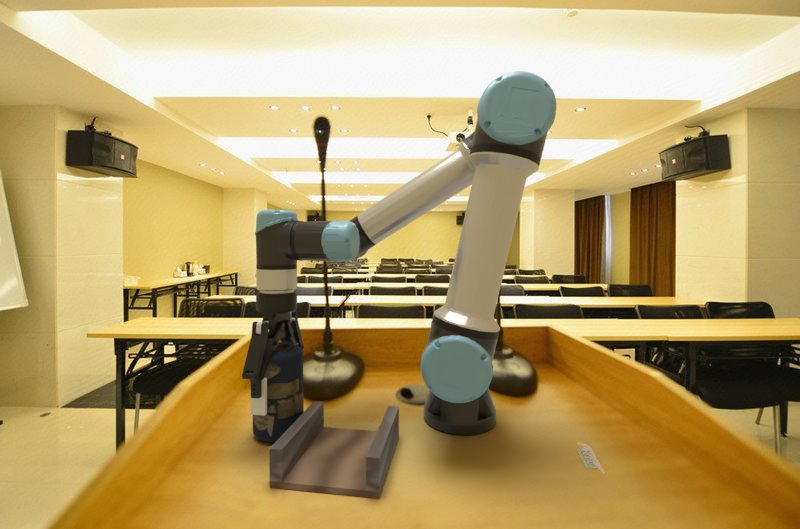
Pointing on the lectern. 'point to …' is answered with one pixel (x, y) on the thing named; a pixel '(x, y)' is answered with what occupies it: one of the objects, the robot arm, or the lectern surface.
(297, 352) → the canister
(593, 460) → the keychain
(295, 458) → the holder
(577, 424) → the lectern surface
